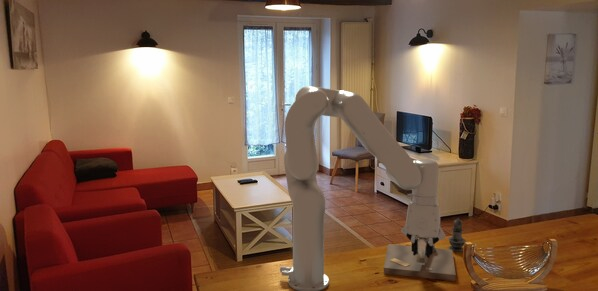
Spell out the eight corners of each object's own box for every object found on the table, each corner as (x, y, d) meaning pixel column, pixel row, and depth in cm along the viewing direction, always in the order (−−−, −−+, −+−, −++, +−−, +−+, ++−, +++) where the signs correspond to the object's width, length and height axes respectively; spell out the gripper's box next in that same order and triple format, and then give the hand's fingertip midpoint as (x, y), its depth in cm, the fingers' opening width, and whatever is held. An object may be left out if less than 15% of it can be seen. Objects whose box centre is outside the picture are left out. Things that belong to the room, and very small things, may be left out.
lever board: (383, 273, 152) (383, 265, 152) (388, 248, 172) (388, 242, 171) (455, 280, 147) (455, 273, 146) (451, 254, 166) (451, 247, 166)
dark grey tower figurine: (462, 246, 174) (464, 214, 171) (466, 252, 168) (468, 220, 166) (446, 245, 174) (448, 214, 172) (449, 252, 168) (451, 220, 166)
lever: (423, 243, 168) (424, 218, 166) (435, 244, 166) (436, 219, 165) (414, 265, 150) (415, 238, 148) (427, 267, 148) (428, 239, 147)
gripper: (394, 199, 147) (393, 255, 150) (450, 206, 140) (447, 264, 143) (400, 193, 154) (398, 246, 157) (453, 199, 147) (450, 254, 150)
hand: (421, 254), depth 150 cm, fingers closed on lever, 3 cm apart
